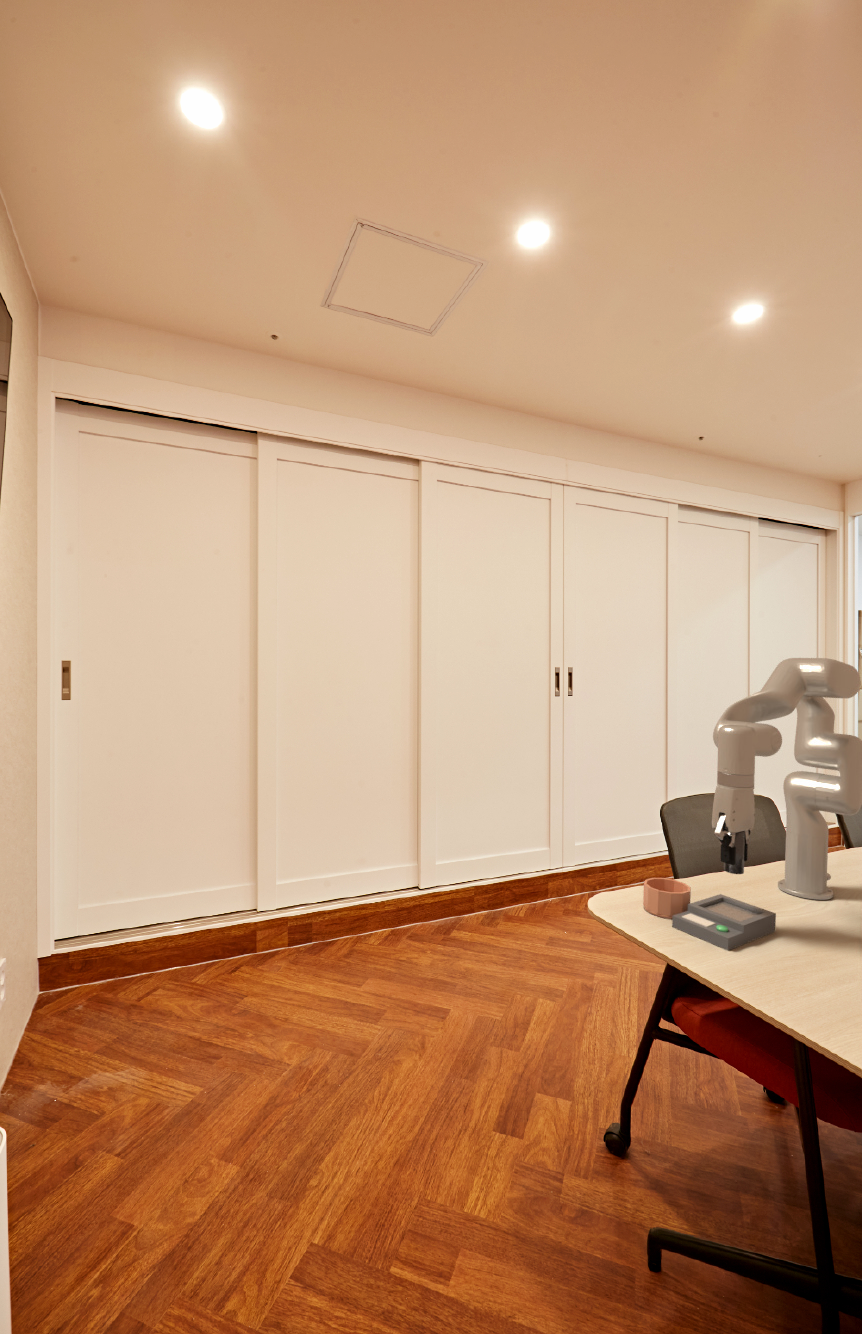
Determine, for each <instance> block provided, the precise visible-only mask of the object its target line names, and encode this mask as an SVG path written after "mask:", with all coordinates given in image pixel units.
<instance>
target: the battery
mask: <svg viewBox="0 0 862 1334" xmlns="http://www.w3.org/2000/svg"><path fill="white" fill-rule="evenodd" d="M725 831H728V829H727V828H726V830H725ZM726 836H728V838H729V839H730V835H728V834H726ZM744 843H745V831H742V832H738V833H735V841H734V847H736V863H735V865H731V864H727V863H724V862H723V870H724V872H726V873H729V874H732V875H733V874H734V875H742V874H744V873H745V861H744Z"/></svg>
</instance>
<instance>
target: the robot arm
mask: <svg viewBox="0 0 862 1334" xmlns="http://www.w3.org/2000/svg"><path fill="white" fill-rule="evenodd" d="M858 671H859V670H857V669H856V668H855V666H853V665H850V664H848V663H847V662H846V663H845V662H842V661H840V660H836V659H833V658H826V657H822V658H821V657H790V658H786V659H783V660H782V661H780V662H779V663H778V664H777V665H776V667H775V668H774V670H773V671H772V672H771V674H770V676H769V677H768V678H767V680H766V682H765V684H763V687H761V689H760V691H758V692H754V693H751V694H750V695H748V696H746V697H744V698H742V699H739V700H738V701H736V702H734V703H733V704H731V705H730V706H729V707H727V708H726V709H725V710H724V712H723V713H722V715H720V717H719V719H718V720H717V723H716V724H715V726H714V729H713V733H712V741H713V743H714V745H715V746H716V748H717V776H716V785H717V786H716V787H715V791H714V796H713V803H712V816H711V827H712V829H713V830H714V833H713V834H714V836H715V837H716V838H717V839H718V840H719V844H720V862H722V863H723V864H724V863H727V864H731V865H735V863H736V847H734V841H735V833H738V832H742V831H745V843H744V862H747V861H748V847H749V843H750V835H751V832H752V831H753V829H754V827H755V821H756V807H755V805H756V801H755V792H754V791H755V777H756V776H755V775H756V771H755V769H756V757H764V758H765V757H766V758H767V757H772V756H774V755H776V754H777V753H778V752H779V751H780V750H781V747H782V744H783V735H782V733H781V732H780V730H779V729H778V728H777V727H776V726H774V725H772V724H769V723H768V724H767V723H761V722H765V721H772V720H776V719H780V718H783V717H786V716H789V715H790V714H792V713H793V712H794V711H795V709H796V729H795V737H794V747H793V750H794V751H793V755H794V759H795V761H796V762H797V763H798V764H800V765H803V766H805V767H811V768H815V769H816V768H818V769H823V770H829V771H830V770H831V771H837V772H839V775H832V774H825V773H821V772H813V771H807V770H806V771H804V770H797V771H792V772H790V773H789V774H787V775H786V776H785V778H784V781H783V785H782V786H783V795H784V801H785V802H784V803H785V808H786V810H785V813H786V825H785V826H786V829H785V855H784V859H785V861H784V879H780V880H778V882H777V888H779V889H780V890H781V891H783V892H784V893H787V894H789V895H792V896H795V897H799V898H801V899H802V898H803V899H809V900H817V901H819V900H820V901H821V900H824V901H827V900H830V899H833V897H834V891H833V890H832V889H831V888H829V887H828V886H827V885H828V884H827V883H828V881H829V880H831V879H832V876H831V874H830V873H828V861H829V860H828V857H829V855H828V854H829V826H828V823H827V821H826V819H825V817H824V816H823V814H822V813H821V812H827V813H831V814H838V815H842V816H854V815H857V814H858V813H859V812H860V810H861V809H862V739H861V738H860V737H858V736H855V735H853V734H847V733H846V734H844V733H835V719H836V715H835V712H834V710H833V708H832V707H831V706H830V704H829V703H828V701H827V700H826V699H828V698H829V699H831V698H833V699H851V698H853V697H855V696H856V695H857V694H858V693H859V691H860V688H861V681H862V680H861V676H860V673H859V672H858ZM825 698H826V699H825ZM726 828H727V829H728V831H725V830H726ZM726 834H728V835H730V839H729V838H728V836H726Z"/></svg>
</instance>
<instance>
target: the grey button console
mask: <svg viewBox="0 0 862 1334" xmlns="http://www.w3.org/2000/svg"><path fill="white" fill-rule="evenodd" d="M721 902H726V903H729V904H731V905H734V906H737V907H740V908H743V909H746V910H748V911H751V912H754V913H757V914H759V915H757V916H754V917H751V918H749V919H746V920H743V921H738V920H735V919H733V918H730V917H727V916H725V915H722V914H719V913H717V912H714V911H711V910H709V909H706V908H705V907H708V906H711V905H714V904H718V903H721ZM776 917H777V913H776V912H773V911H771V910H767V909H764V908H762V907H759V906H756V905H753V904H750V903H748V902H744V901H742V900H738V899H737V898H732V897H730V896H727V895H724V894H721V893H720V894H717V895H713V896H709V897H707V898H704V899H701V900H698V901H694V902H692V903H691V902H690V904H688V911H686V912H683V913H680V914H676V915H673V919H671V920H672V921H671V922H672V923H671V925H672V926H671V927H672V928H674V929H676V930H677V931H681V932H684V933H685V934H688V935H690V936H692V937H696V938H698V939H700V940H702V941H704V942H706V943H707V942H708V943H709V944H712V945H714V946H716V947H718V948H721V949H724V950H725V951H731V950H733V949H735V948H738V947H740V946H742V945H745V944H748V943H750V942H753V941H755V940H757V939H760V938H763V937H765V936H768V935H770V934H772V933H775V932H776V921H777V920H776Z"/></svg>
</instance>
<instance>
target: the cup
mask: <svg viewBox="0 0 862 1334" xmlns="http://www.w3.org/2000/svg"><path fill="white" fill-rule="evenodd" d="M691 891H692V888H691V887H690V886H689V885H688V884H687V883H684V882H682V881H679V880H677V879H670V878H665V877H650V878H647V879H645V880H644V883H643V898H642V899H643V901H642V904H643V909H644V911H645V912H647V913H649V914H650V915H652V916H655V917H657V918H662V919H666V920H672V919H673V915H676V914H680V913H683V912H686V911H688V904H690V903H691V897H692V896H691V895H692V893H691Z"/></svg>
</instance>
